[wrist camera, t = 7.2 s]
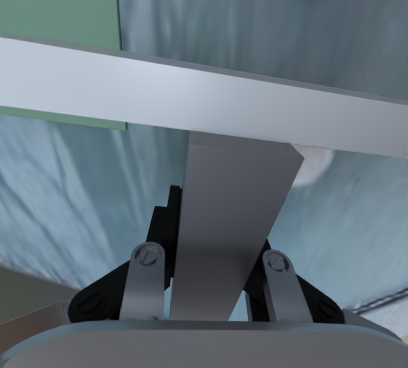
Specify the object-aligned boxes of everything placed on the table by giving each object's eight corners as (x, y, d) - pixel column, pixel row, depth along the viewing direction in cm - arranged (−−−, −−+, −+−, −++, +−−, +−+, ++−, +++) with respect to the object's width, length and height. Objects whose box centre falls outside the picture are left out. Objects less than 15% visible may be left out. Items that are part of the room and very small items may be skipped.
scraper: (377, 94, 9) (532, 129, 5) (276, 268, 16) (305, 341, 12) (51, 38, 7) (-128, 20, 3) (99, 259, 15) (63, 341, 11)
